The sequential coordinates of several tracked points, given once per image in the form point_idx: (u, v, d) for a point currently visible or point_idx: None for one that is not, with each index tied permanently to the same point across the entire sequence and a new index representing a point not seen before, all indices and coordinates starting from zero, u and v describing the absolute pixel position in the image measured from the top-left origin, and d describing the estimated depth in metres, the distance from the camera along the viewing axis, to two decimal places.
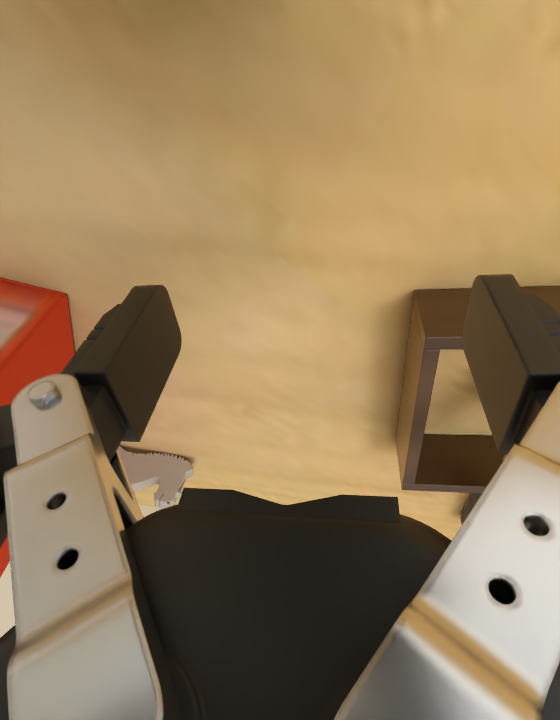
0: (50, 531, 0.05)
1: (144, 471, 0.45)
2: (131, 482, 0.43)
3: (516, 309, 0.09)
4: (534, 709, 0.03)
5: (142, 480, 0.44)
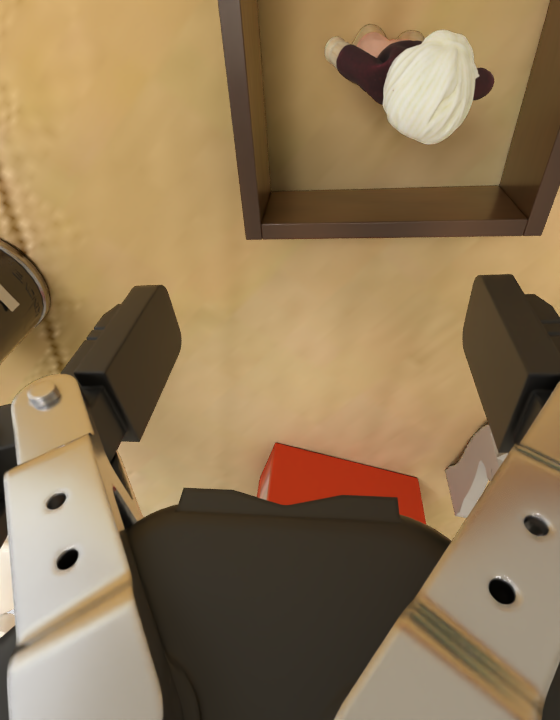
0: (50, 531, 0.05)
1: (471, 466, 0.42)
2: (471, 484, 0.42)
3: (516, 309, 0.09)
4: (534, 709, 0.03)
5: (474, 474, 0.42)
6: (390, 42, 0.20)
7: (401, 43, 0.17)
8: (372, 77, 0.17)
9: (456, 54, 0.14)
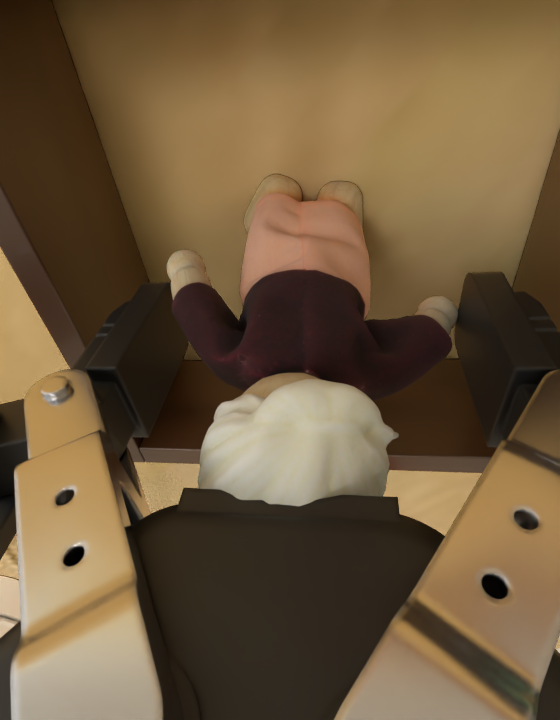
0: (57, 527, 0.05)
1: None
2: None
3: (505, 306, 0.09)
4: (534, 709, 0.03)
5: None
6: (285, 239, 0.12)
7: (274, 294, 0.09)
8: (217, 367, 0.09)
9: (326, 454, 0.06)
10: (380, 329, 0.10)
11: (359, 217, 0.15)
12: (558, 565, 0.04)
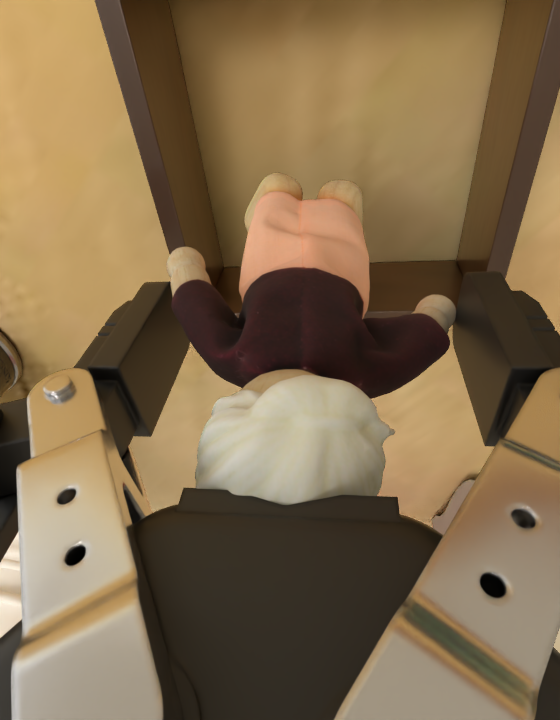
0: (59, 526, 0.05)
1: None
2: None
3: (502, 305, 0.09)
4: (534, 709, 0.03)
5: None
6: (284, 237, 0.12)
7: (273, 291, 0.09)
8: (215, 364, 0.09)
9: (322, 449, 0.06)
10: (378, 327, 0.10)
11: (359, 216, 0.15)
12: (555, 563, 0.04)
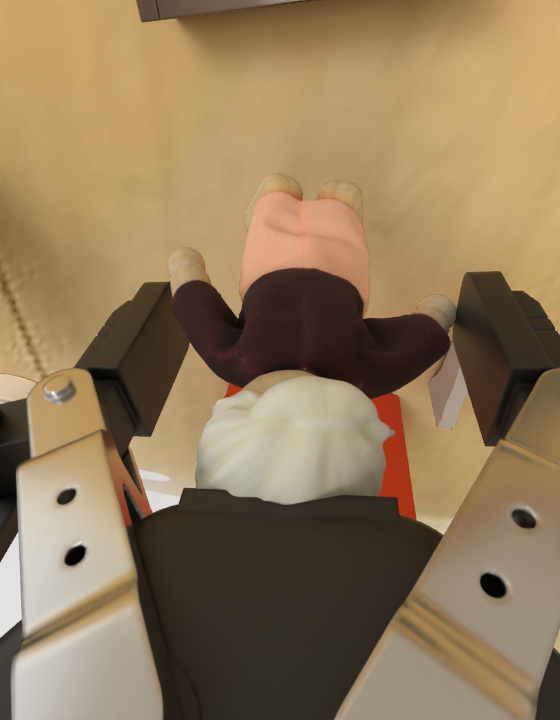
0: (58, 526, 0.05)
1: (453, 368, 0.37)
2: (452, 386, 0.37)
3: (502, 305, 0.09)
4: (534, 709, 0.03)
5: (456, 374, 0.36)
6: (284, 238, 0.12)
7: (273, 292, 0.09)
8: (215, 365, 0.09)
9: (322, 451, 0.06)
10: (378, 327, 0.10)
11: (359, 216, 0.15)
12: (556, 564, 0.04)
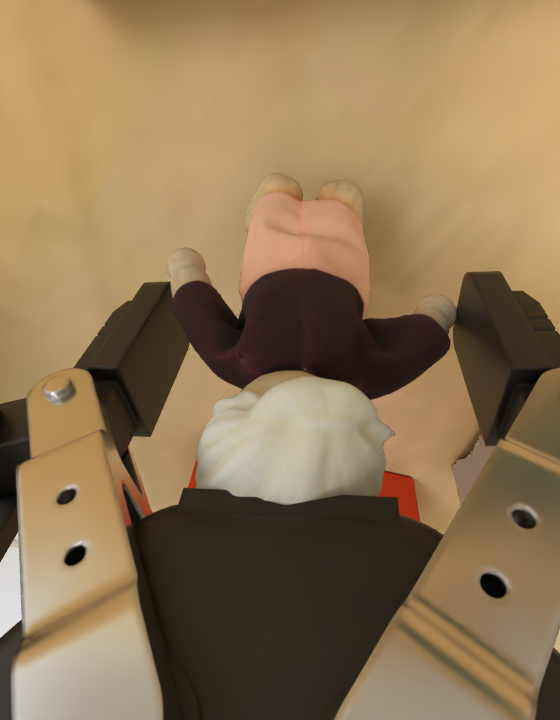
0: (59, 526, 0.05)
1: None
2: None
3: (502, 305, 0.09)
4: (534, 709, 0.03)
5: None
6: (284, 238, 0.12)
7: (273, 292, 0.09)
8: (216, 365, 0.09)
9: (322, 451, 0.06)
10: (378, 328, 0.10)
11: (359, 216, 0.15)
12: (556, 564, 0.04)
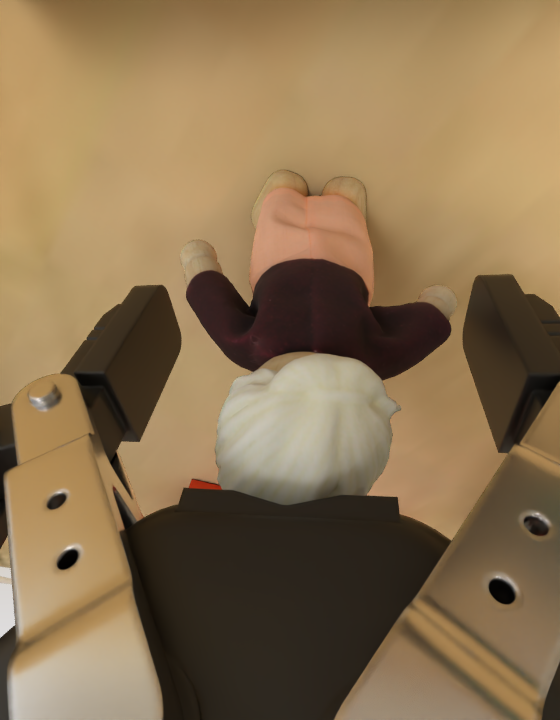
0: (50, 531, 0.05)
1: None
2: None
3: (516, 309, 0.09)
4: (534, 709, 0.03)
5: None
6: (292, 231, 0.12)
7: (284, 281, 0.10)
8: (230, 349, 0.10)
9: (336, 420, 0.07)
10: (383, 315, 0.10)
11: (362, 212, 0.16)
12: None
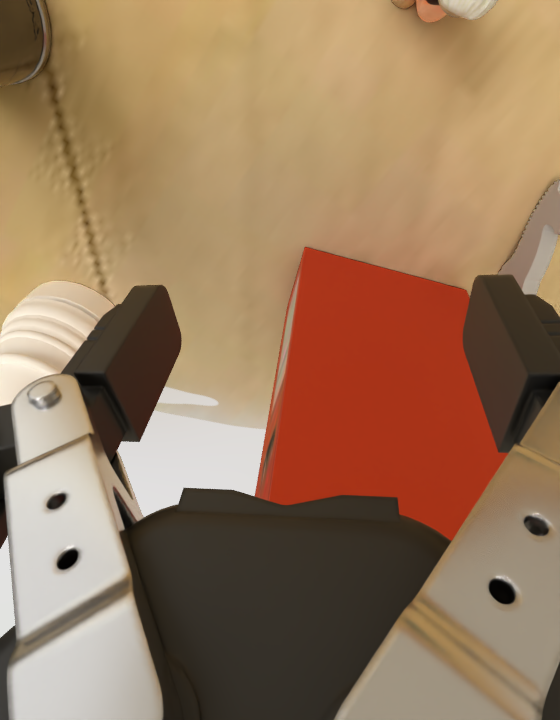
0: (50, 531, 0.05)
1: (532, 241, 0.37)
2: (533, 258, 0.36)
3: (516, 309, 0.09)
4: (534, 709, 0.03)
5: (538, 245, 0.36)
6: None
7: None
8: None
9: None
10: None
11: None
12: None
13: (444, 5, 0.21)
